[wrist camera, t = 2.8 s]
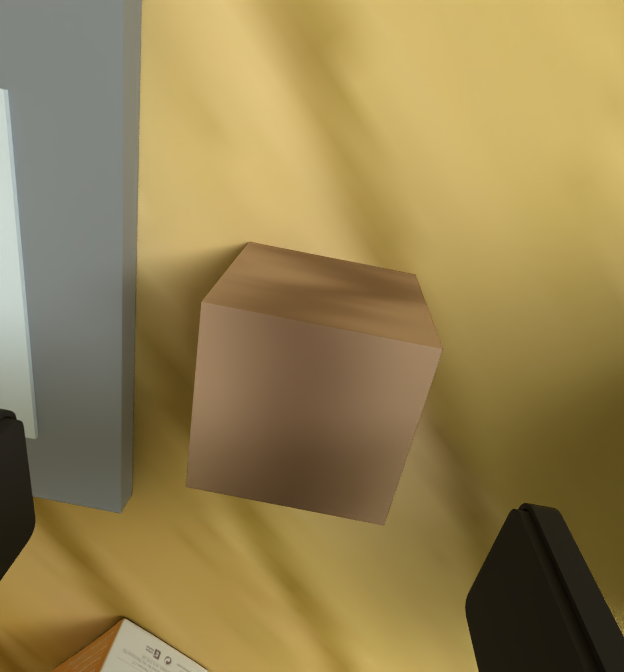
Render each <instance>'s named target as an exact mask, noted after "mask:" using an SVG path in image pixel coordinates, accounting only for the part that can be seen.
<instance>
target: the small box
mask: <svg viewBox="0 0 624 672" xmlns="http://www.w3.org/2000/svg"><path fill="white" fill-rule="evenodd" d="M51 672H208V671H207V670H206V669H204V668H203V667H201V666H200V665H199V664H197V663H196V662H194V661H193V660H191V659H189V658H188V657H186V656H185V655H183V654H182V653H180V652H179V651H177V650H175V649H174V648H172V647H171V646H169V645H168V644H166V643H164V642H163V641H161V640H160V639H158V638H157V637H155V636H154V635H152V634H150V633H148V632H147V631H145V630H144V629H142V628H140V627H139V626H137V625H135V624H134V623H132V622H130V621H129V620H127V619H122V620H120V621H119V622H118V623H117V624H116V625H115V626H113V627H112V628H111V629H110V630H108V631H107V632H106V633H104V634H103V635H102V636H100V637H99V638H97V639H96V640H95V641H93V642H92V643H91V644H89V645H88V646H87V647H85V648H84V649H82V650H81V651H79V652H78V653H76V654H75V655H74V656H72V657H71V658H69V659H68V660H66V661H65V662H64V663H62V664H61V665H59V666H58V667H56V668H55V669H53V670H52V671H51Z"/></svg>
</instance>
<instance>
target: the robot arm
mask: <svg viewBox="0 0 624 672" xmlns="http://www.w3.org/2000/svg"><path fill="white" fill-rule="evenodd" d="M34 527H35V512H34V504H33V496H32V487H31V479H30V471H29V463H28V455H27V447H26V439H25V431H24V425H23V422H22V421H20V420H17V418H16V414H15V413H14V412H13V411H10V410H6V409H0V581H1V579H2V578H3V576H4V575H5V573H6V572H7V571H8V569H9V568H10V566H11V565H12V564H13V562H14V561H15V559H16V558H17V556H18V555H19V554H20V552H21V551H22V549H23V548H24V546H25V545H26V544H27V542H28V541H29V539H30V537H31V535H32V533H33V530H34ZM465 609H466V618H467V622H468V627H469V631H470V635H471V640H472V644H473V648H474V653H475V657H476V661H477V666H478V670H479V672H624V637H623V635H622V633H621V631H620V629H619V627H618V625H617V623H616V621H615V619H614V617H613V615H612V613H611V611H610V609H609V607H608V605H607V604H606V602H605V600H604V598H603V596H602V594H601V592H600V590H599V588H598V586H597V584H596V582H595V580H594V578H593V576H592V574H591V572H590V570H589V568H588V566H587V564H586V562H585V560H584V558H583V556H582V554H581V552H580V550H579V548H578V546H577V545H576V543H575V541H574V539H573V537H572V535H571V533H570V531H569V529H568V527H567V525H566V523H565V521H564V519H563V517H562V515H561V514H560V512H559V511H558V510H557V509H555V508H550V507H545V506H539V505H534V504H528V503H524V504H522V505H521V506H520V507H519V509H518V510H517V509H513V510H511V511H510V513H509V515H508V517H507V519H506V521H505V523H504V524H503V526H502V528H501V530H500V532H499V534H498V536H497V538H496V540H495V542H494V544H493V546H492V548H491V550H490V552H489V554H488V556H487V558H486V560H485V562H484V564H483V566H482V568H481V570H480V572H479V574H478V576H477V577H476V579H475V581H474V583H473V585H472V587H471V589H470V591H469V593H468V595H467V598H466V606H465Z"/></svg>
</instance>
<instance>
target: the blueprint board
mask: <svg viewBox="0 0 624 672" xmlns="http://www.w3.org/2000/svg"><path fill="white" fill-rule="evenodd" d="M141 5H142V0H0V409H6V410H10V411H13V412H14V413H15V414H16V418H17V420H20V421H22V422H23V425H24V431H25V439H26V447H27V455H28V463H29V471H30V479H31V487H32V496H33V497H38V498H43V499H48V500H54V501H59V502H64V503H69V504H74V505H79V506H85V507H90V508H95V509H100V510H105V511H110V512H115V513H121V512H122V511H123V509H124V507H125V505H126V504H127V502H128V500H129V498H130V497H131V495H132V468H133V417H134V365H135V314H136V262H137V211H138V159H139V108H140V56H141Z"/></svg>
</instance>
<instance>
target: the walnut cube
mask: <svg viewBox="0 0 624 672" xmlns="http://www.w3.org/2000/svg"><path fill="white" fill-rule="evenodd" d="M442 351H443V348H442V345H441V342H440V340H439V337H438V334H437V332H436V329H435V326H434V324H433V321H432V318H431V315H430V313H429V310H428V307H427V305H426V302H425V299H424V297H423V294H422V291H421V288H420V286H419V283H418V280H417V278H416V275H415V274H410V273H405V272H400V271H395V270H390V269H385V268H380V267H375V266H370V265H365V264H360V263H354V262H349V261H344V260H339V259H334V258H329V257H324V256H319V255H314V254H309V253H304V252H299V251H293V250H288V249H283V248H278V247H273V246H268V245H263V244H258V243H253V242H248V244H247V245H246V246H245V248H244V249H243V250H242V251H241V253H240V254H239V255H238V256H237V258H236V259H235V260H234V261H233V263H232V264H231V265H230V266H229V268H228V269H227V270H226V271H225V273H224V274H223V275H222V276H221V278H220V279H219V280H218V281H217V283H216V284H215V285H214V287H213V288H212V289H211V290H210V292H209V293H208V294H207V295H206V297H205V298H204V299H203V300H202V302H201V312H200V324H199V336H198V348H197V360H196V372H195V383H194V395H193V407H192V419H191V431H190V443H189V455H188V467H187V479H186V487H189V488H194V489H199V490H204V491H209V492H215V493H220V494H225V495H230V496H235V497H240V498H245V499H251V500H256V501H261V502H266V503H271V504H276V505H281V506H287V507H292V508H297V509H302V510H307V511H312V512H317V513H323V514H328V515H333V516H338V517H343V518H348V519H353V520H359V521H364V522H369V523H374V524H379V525H384V524H385V521H386V518H387V515H388V512H389V509H390V506H391V503H392V500H393V497H394V494H395V491H396V488H397V485H398V482H399V479H400V476H401V473H402V470H403V467H404V464H405V461H406V458H407V455H408V452H409V449H410V446H411V443H412V440H413V437H414V434H415V431H416V428H417V425H418V422H419V419H420V416H421V413H422V410H423V407H424V404H425V402H426V399H427V396H428V393H429V390H430V387H431V384H432V381H433V378H434V375H435V372H436V369H437V366H438V363H439V360H440V357H441V354H442Z"/></svg>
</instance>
